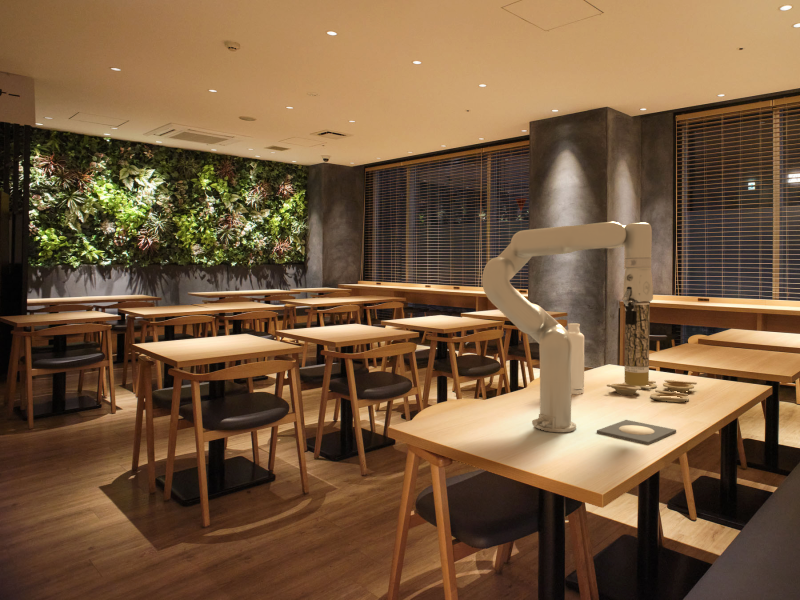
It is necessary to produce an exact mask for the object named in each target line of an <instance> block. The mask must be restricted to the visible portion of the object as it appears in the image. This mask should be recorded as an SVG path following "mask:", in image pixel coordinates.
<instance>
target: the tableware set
mask: <svg viewBox="0 0 800 600" xmlns="http://www.w3.org/2000/svg"><path fill="white" fill-rule="evenodd" d="M648 385H649V386H632V385H628V384H626V383H625V381H624V382H623V383H612V384H606V387H608V388H612V389H613V390H615V392H616V393H617V394H618V395H624V396H632V395H635V394H636V392H637V391H639V390H645V389H646V390H652V389H655V393H651V394H650V395H649V396H650V398H651V399H652V400H657V401H661V402H666V401H667V402H668V403H686V402H689V401H690V398H689V394H688V393H676V392H671V391H677V392H686V391H688V392H689V391H690V390H692V389H694V388H695V385H698V382H695V381H682V380H680V381H679V380H675V379H674V380H672V379H665V380H664V382H663V383H662V386H663V387H664V388H667V389H668V391H667V390H660V389H656V388H658V385H657V384H656V381H655V380H649V383H648ZM669 390H670V391H669ZM660 396H677V397H680V398H671V397H660ZM685 401H686V402H685ZM667 402H666V403H667Z"/></svg>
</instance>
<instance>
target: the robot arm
mask: <svg viewBox="0 0 800 600" xmlns="http://www.w3.org/2000/svg"><path fill="white" fill-rule="evenodd" d="M652 233H653V232H652V226H651V224H650V223H648V222H632V223H628V224H626V225H624V224H621V223H620V222H618V221H617V222H616V221H607V222H595V223H588V224H587V223H586V224H585V223H584V224H577V225H564V226H562V225H561V226H553V227H552V226H551V227H544V228H543V227H542V228H534V229H523V230H519V231H517V232H516V233H514V234H513V235H512V237H511V239H510V240H511V241H510V243H509V244H508V246H506V248H505V249H504V250H503V251H502V252H501V253H500V254H499V255H498V256H497V257H493V258H491V259H489V260H488V262H487V263H486V264H485V267H484V269H483V272H482V277H481V282H482V283H481V284H482V288H483V291H484V294H485V296H486V297H487V299H488V300H489V301H490V302H491V304H492V305H493V306H495V307H496V309H498V310H499V311H500V313H502V314H503V315H504V316H505V317H506V318H507V319H508V320H509V321H510V322H511V323H512V324H513V325H514V326H515V327H516V328H517V329H518V330H519V331H521V333H523V334H527V335H529V336H530V337H531V338H532V339H533V340H534V341H536V343H538V344H539V346H538V348H539V349H538V350H539V413H538V418H536V419H533V420H532V421H531V424H532V426H534V427H535V428H536V429H538V430H540V429H541V431H543V430H544V432H549V433H570V432H572V431H573V432H574V431H576V429H577V424H576V423H575V422H573V421H572V394H571V353H572V343H571V338H570V335H569V333H568V329H566V328H565V327H564V326H563V325H562V324H561V323H560V322H558V320H556V319H555V318H554V317H553V316H552V315H551V314H549V313H548V312H547V311H546V310H545V309H544V308H543V307H541V306H540V305H538V304H536V303H532V302H531V301H529V300H528V299H527V298H526V297H525V296H524V295H522V294H521V293H520V292H519V291H518V289H516V288H515V287H514V286H513V284H511V281H510V280H512V279H513V278H514V276H515V275H516V274H517V273H519V272H520V270H521V269H523V267H524V266H525V265H526V264H527V263H528V262H529V261H530V259H532V257H541V256H553V255H563V254H564V255H565V254H571V253H574V252H579V251H587V250H594V249H596V250H597V249H618V248H624V252H623V253H624V256H623V258H624V260H623V261H624V262H623V264H624V265H623V266H624V267H623V268H624V269H623V270H624V277H623V297H622V302H623V305H624V324H625V323H626V324H631V325H636V324H637V311H635V309H636V305H637V302H649V304H651V302H652V301H653V300H654V287H653V284H654V283H653V275H652V248H653V247H652V243H653V241H652V239H653V238H652V237H653V236H652V235H653V234H652ZM631 303H633V306H632V304H631ZM625 311H626V313H625Z"/></svg>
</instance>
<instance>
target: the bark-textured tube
mask: <svg viewBox="0 0 800 600" xmlns="http://www.w3.org/2000/svg"><path fill="white" fill-rule="evenodd" d="M631 304H632V306H633V303H631ZM650 304H651V303H650ZM650 304H649V302H637V305H636V309H635V311H637V324H636V325H631V324H626V323H625V322H624V382H625V383H626V384H628V385H632V386H646V385H648V383H649V381H650V379H649V377H650V315H651V313H650V312H651V311H650ZM625 313H626V311H625V310H624V314H625Z"/></svg>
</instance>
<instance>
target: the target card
mask: <svg viewBox="0 0 800 600" xmlns="http://www.w3.org/2000/svg"><path fill="white" fill-rule="evenodd" d="M599 433H600V434H601V435H605V436H608V437H612V436H613V438H617V439H621V438H622V440H627V441H630V440H631V442H634V441H635V442H636V443H640V444H644V445H651V444H653V443H655V442H657V441H658V442H659V440H663V439H664V438H667V437H669V436H671V435H673V434H676V433H677V429H674V428H668V427H666V426H665V427H664V426H660V425H653V424H649V423H643V422H639V421H635V420H634V421H633V420H628V419H623V420H621V421H619V422H616V423H613V424H611V425H608V426H605V427H602V428H599V429H597V430H596V434H599ZM600 434H599V435H600Z"/></svg>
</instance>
